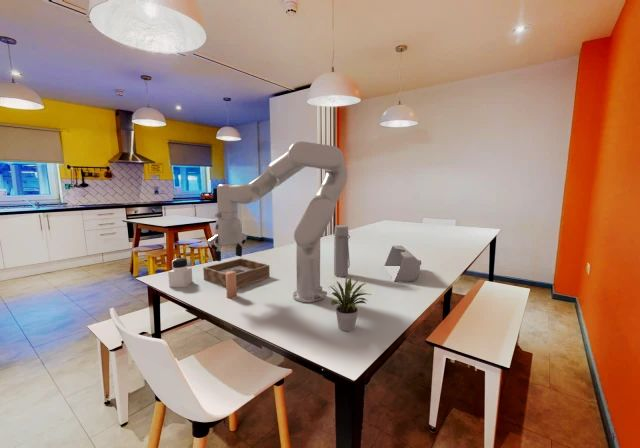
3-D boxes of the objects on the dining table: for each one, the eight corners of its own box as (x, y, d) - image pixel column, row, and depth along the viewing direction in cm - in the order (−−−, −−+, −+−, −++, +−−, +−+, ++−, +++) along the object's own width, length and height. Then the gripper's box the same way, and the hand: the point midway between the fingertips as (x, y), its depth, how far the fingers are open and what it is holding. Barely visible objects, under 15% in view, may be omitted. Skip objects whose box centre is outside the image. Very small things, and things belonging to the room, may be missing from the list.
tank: (428, 282, 132) (429, 256, 130) (393, 282, 133) (394, 256, 131) (412, 267, 157) (413, 245, 155) (383, 267, 157) (384, 245, 156)
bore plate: (257, 275, 139) (257, 270, 138) (233, 283, 128) (233, 277, 128) (240, 270, 147) (240, 265, 147) (216, 277, 136) (215, 272, 136)
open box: (269, 277, 140) (269, 265, 139) (231, 290, 122) (230, 276, 122) (241, 268, 153) (241, 258, 152) (204, 279, 136) (203, 267, 135)
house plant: (341, 346, 80) (342, 291, 77) (313, 326, 91) (313, 277, 89) (376, 331, 88) (378, 281, 86) (347, 315, 99) (347, 269, 97)
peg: (238, 295, 116) (237, 272, 115) (230, 299, 113) (229, 274, 112) (233, 293, 118) (232, 270, 117) (224, 296, 115) (223, 272, 114)
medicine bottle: (192, 282, 132) (191, 257, 131) (184, 287, 125) (182, 261, 124) (178, 281, 133) (176, 256, 131) (168, 287, 126) (166, 260, 124)
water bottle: (330, 275, 143) (330, 226, 139) (341, 271, 148) (341, 224, 145) (343, 279, 136) (344, 228, 133) (354, 276, 141) (355, 226, 138)
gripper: (213, 218, 102) (214, 264, 104) (251, 215, 116) (252, 255, 118) (202, 216, 107) (203, 260, 109) (240, 213, 120) (240, 252, 123)
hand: (228, 258), depth 114 cm, fingers open, 9 cm apart
